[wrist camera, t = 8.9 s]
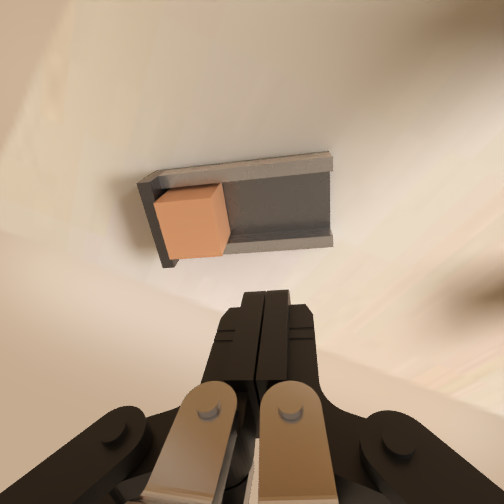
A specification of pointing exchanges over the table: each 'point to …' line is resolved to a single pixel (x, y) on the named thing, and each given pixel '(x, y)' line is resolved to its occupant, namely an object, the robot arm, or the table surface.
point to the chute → (257, 201)
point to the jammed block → (193, 221)
